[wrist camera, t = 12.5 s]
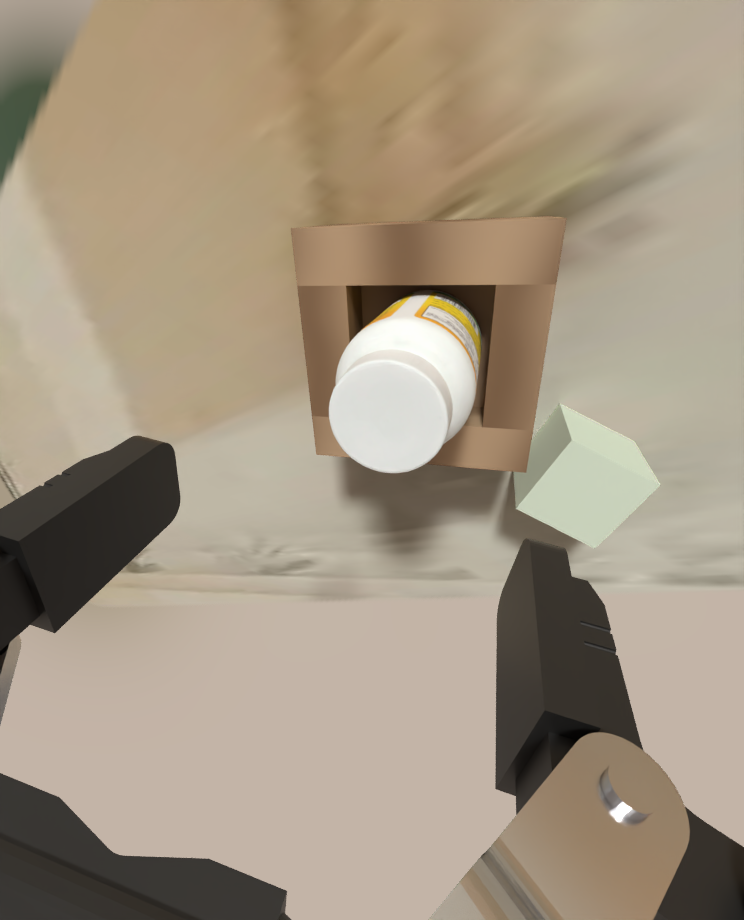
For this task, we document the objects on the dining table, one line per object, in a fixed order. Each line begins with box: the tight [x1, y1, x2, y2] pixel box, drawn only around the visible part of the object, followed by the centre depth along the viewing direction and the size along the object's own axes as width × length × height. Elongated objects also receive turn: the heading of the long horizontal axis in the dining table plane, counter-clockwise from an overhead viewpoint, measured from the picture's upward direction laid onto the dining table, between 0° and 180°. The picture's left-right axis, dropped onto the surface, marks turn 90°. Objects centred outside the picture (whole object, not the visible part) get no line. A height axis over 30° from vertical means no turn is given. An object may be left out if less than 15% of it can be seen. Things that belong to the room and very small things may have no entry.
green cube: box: [513, 404, 660, 549], centre depth 25 cm, size 5×5×5 cm
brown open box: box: [291, 216, 567, 473], centre depth 23 cm, size 11×11×6 cm
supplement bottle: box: [329, 290, 482, 473], centre depth 18 cm, size 5×5×10 cm
